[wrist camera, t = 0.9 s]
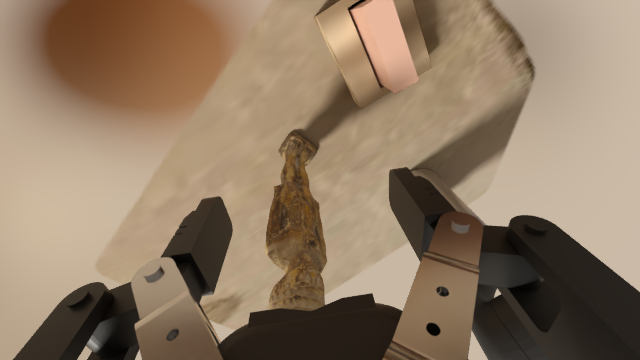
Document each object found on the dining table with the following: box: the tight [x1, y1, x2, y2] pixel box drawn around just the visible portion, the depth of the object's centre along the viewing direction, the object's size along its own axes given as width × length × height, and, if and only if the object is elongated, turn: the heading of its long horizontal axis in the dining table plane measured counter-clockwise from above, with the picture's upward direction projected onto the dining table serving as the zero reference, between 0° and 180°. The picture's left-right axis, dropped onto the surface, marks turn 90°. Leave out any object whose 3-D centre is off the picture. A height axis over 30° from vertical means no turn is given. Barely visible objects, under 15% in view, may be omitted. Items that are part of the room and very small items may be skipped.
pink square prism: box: [348, 0, 419, 93], centre depth 32 cm, size 10×3×10 cm, turn 30°
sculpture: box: [265, 131, 327, 311], centre depth 31 cm, size 7×6×30 cm
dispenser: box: [314, 0, 432, 108], centre depth 34 cm, size 13×11×5 cm
